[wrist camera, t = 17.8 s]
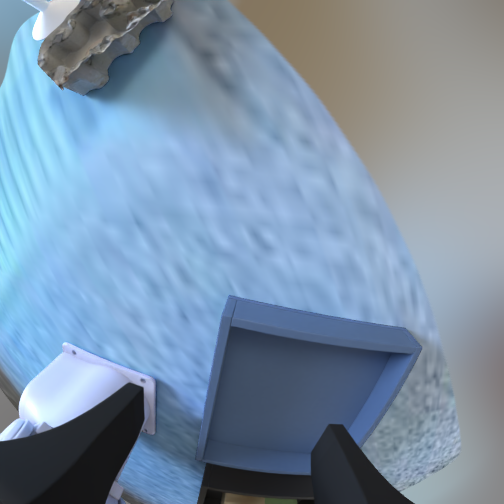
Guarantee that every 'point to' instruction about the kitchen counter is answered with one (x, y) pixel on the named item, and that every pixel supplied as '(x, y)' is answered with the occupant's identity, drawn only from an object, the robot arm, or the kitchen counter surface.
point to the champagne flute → (50, 15)
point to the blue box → (296, 384)
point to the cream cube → (240, 499)
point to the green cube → (280, 501)
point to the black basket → (253, 485)
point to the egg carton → (96, 40)
